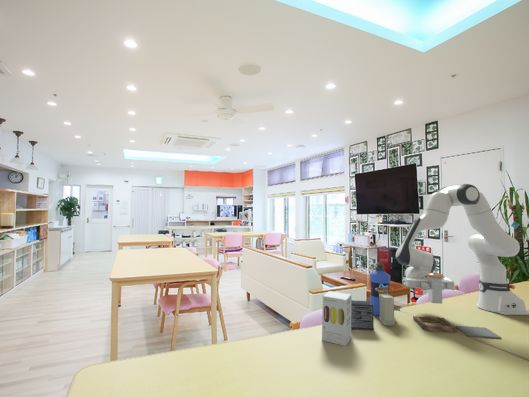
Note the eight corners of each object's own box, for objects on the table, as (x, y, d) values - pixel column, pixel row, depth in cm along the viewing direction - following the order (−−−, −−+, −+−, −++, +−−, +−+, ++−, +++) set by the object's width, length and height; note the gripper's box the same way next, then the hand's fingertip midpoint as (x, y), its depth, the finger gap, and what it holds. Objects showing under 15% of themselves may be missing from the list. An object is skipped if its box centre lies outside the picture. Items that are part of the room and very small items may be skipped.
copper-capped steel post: (439, 300, 132) (439, 272, 132) (446, 304, 125) (446, 275, 126) (424, 299, 133) (424, 272, 133) (430, 303, 126) (430, 275, 127)
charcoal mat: (485, 329, 126) (485, 327, 126) (501, 338, 116) (501, 337, 116) (455, 326, 127) (455, 325, 127) (468, 336, 118) (468, 335, 118)
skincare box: (394, 326, 127) (394, 297, 128) (384, 325, 127) (384, 297, 128) (388, 320, 134) (388, 293, 134) (379, 320, 134) (379, 293, 134)
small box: (370, 324, 128) (370, 300, 129) (374, 330, 122) (374, 305, 122) (345, 323, 129) (345, 299, 130) (348, 329, 123) (348, 303, 123)
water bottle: (393, 317, 138) (393, 264, 139) (373, 317, 138) (373, 263, 139) (385, 311, 147) (385, 260, 148) (367, 310, 147) (367, 260, 148)
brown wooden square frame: (442, 321, 134) (442, 317, 134) (457, 332, 121) (457, 328, 121) (412, 319, 136) (412, 315, 136) (423, 330, 123) (423, 325, 123)
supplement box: (321, 340, 111) (321, 295, 112) (327, 332, 119) (328, 290, 120) (346, 346, 107) (346, 299, 107) (351, 337, 115) (351, 293, 116)
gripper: (400, 272, 144) (410, 279, 130) (445, 274, 141) (460, 281, 127) (400, 285, 143) (411, 293, 130) (445, 287, 140) (460, 296, 127)
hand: (436, 287), depth 128 cm, fingers closed on copper-capped steel post, 4 cm apart
